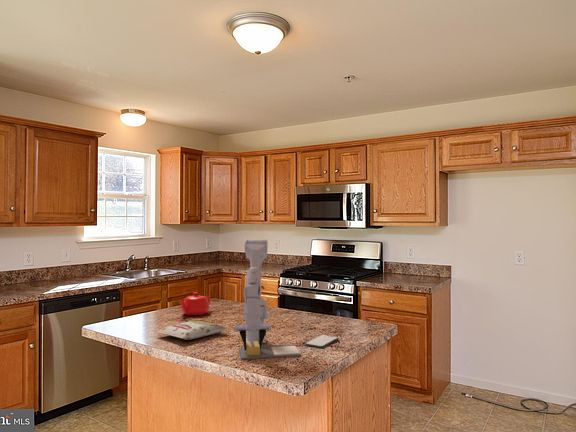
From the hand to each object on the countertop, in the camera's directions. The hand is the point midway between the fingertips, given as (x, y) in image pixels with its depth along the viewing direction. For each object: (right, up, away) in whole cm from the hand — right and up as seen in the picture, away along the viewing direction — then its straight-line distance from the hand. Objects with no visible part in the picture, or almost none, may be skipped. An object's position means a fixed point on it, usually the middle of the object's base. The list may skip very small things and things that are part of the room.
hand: (252, 349), depth 165 cm
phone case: (+29, -3, +15) cm, 33 cm away
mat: (+6, -2, +1) cm, 7 cm away
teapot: (-39, -3, +71) cm, 81 cm away
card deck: (0, -1, 0) cm, 1 cm away
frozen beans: (-29, -3, +26) cm, 39 cm away
